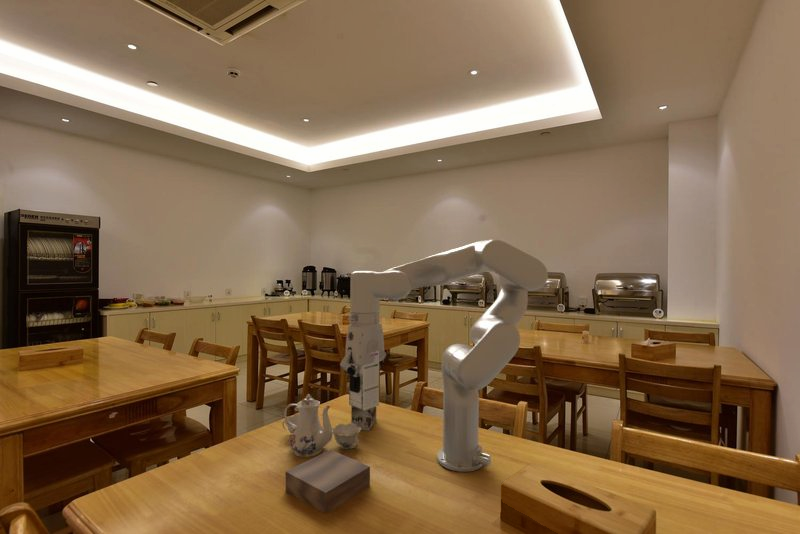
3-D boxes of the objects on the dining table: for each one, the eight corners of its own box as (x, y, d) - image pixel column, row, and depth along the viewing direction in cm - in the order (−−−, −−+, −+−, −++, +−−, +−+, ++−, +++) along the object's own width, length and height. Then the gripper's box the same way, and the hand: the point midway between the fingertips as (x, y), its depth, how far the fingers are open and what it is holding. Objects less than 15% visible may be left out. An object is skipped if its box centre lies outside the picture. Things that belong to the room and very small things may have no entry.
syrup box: (379, 405, 103) (380, 349, 103) (362, 411, 98) (363, 353, 98) (365, 400, 107) (365, 346, 106) (347, 405, 102) (348, 349, 102)
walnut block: (369, 487, 96) (369, 466, 96) (325, 516, 85) (325, 492, 85) (330, 468, 105) (330, 449, 105) (285, 492, 94) (285, 471, 94)
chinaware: (369, 447, 119) (371, 391, 121) (343, 468, 104) (346, 403, 105) (290, 433, 129) (293, 381, 130) (255, 450, 113) (259, 391, 115)
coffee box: (369, 431, 127) (370, 380, 127) (350, 429, 128) (350, 379, 128) (377, 420, 136) (377, 373, 136) (359, 418, 137) (359, 371, 137)
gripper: (349, 323, 93) (348, 400, 93) (397, 316, 106) (397, 384, 107) (329, 320, 98) (328, 393, 98) (377, 314, 111) (376, 378, 111)
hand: (364, 387), depth 102 cm, fingers closed on syrup box, 6 cm apart
